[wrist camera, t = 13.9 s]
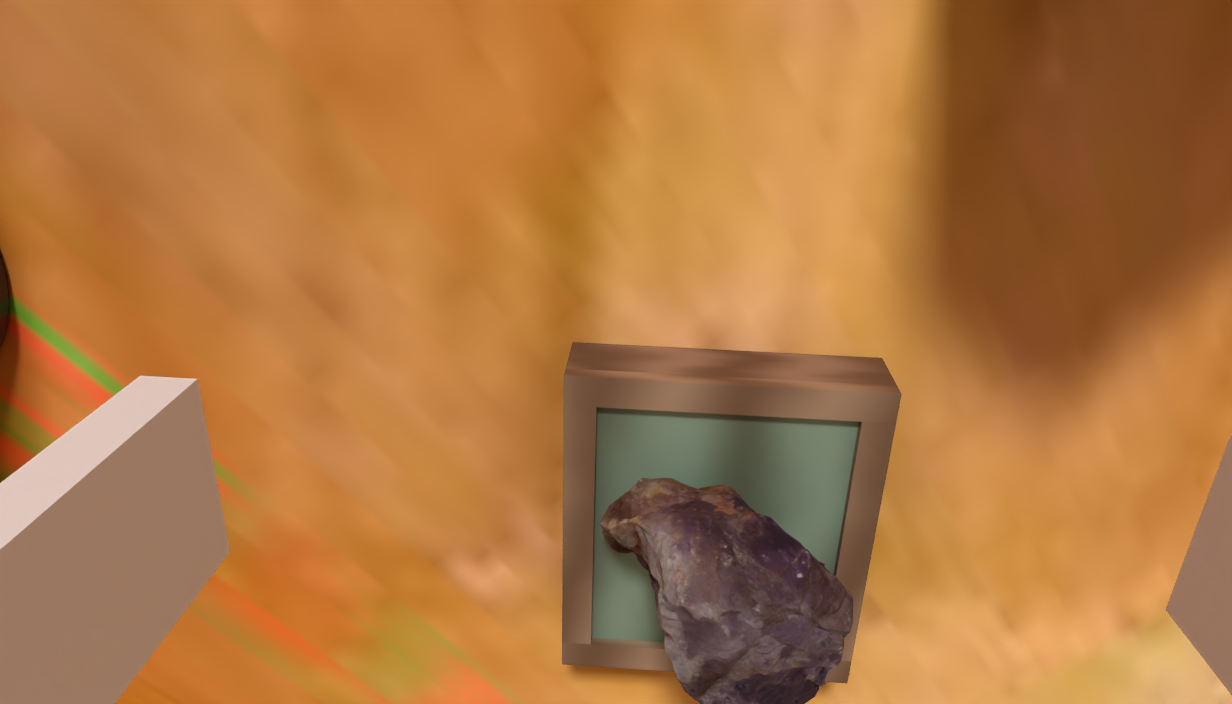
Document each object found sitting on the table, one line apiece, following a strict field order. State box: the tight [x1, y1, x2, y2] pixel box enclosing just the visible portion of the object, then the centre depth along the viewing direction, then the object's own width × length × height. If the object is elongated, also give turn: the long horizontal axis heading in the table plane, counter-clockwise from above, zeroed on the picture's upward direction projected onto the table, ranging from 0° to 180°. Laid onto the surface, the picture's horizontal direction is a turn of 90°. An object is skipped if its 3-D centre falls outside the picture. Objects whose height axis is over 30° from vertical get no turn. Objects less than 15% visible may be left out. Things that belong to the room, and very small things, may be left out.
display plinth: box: [562, 342, 901, 683], centre depth 43 cm, size 15×17×4 cm
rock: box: [599, 478, 853, 704], centre depth 38 cm, size 12×9×10 cm
